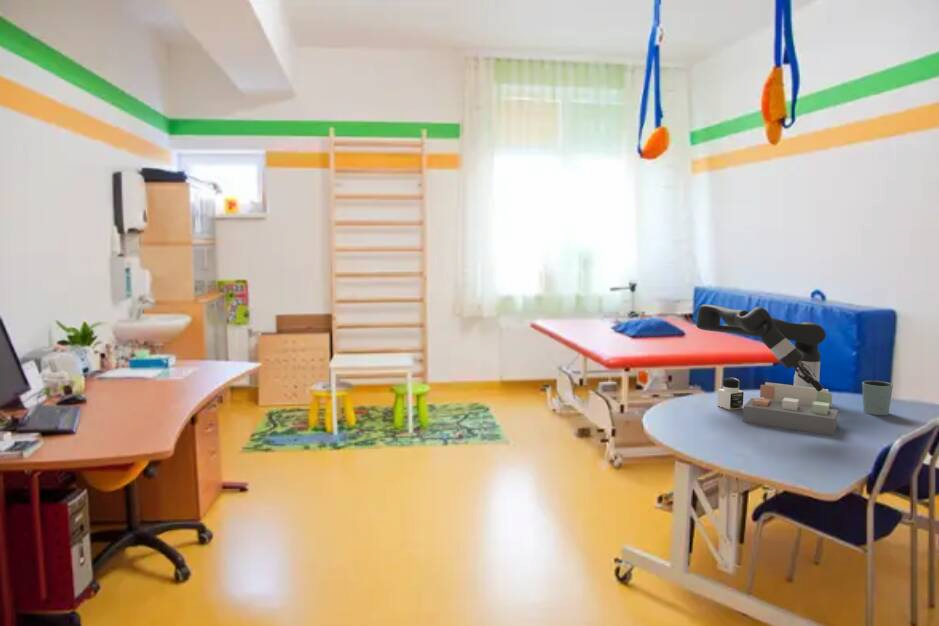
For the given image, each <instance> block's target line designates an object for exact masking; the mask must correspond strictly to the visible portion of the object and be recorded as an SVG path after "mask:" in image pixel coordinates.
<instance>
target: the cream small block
mask: <svg viewBox="0 0 939 626" xmlns="http://www.w3.org/2000/svg"><path fill="white" fill-rule="evenodd" d="M782 409H789V410H796V411H798V409H799V399H793V398H784V399H783V400H782Z"/></svg>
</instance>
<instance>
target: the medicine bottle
mask: <svg viewBox="0 0 939 626" xmlns="http://www.w3.org/2000/svg"><path fill="white" fill-rule="evenodd" d="M722 382H723V383H722V388H719V389H717V402H716V403H717V404H716V405H717V407H719V406H720V407H719V408H722V407H723V408H722V409H726V410H729V411H732V410H738V409H739V410H741V409H744V395H745V394H744V391H743V390H740V380H739V379H737V378H735V377H725V378H723V380H722Z"/></svg>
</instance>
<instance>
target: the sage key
mask: <svg viewBox="0 0 939 626" xmlns="http://www.w3.org/2000/svg"><path fill="white" fill-rule="evenodd" d="M829 405H830V403H824V402H816V401H814V402H813V404H812V413H818V414H825V415H829V409H830V406H829Z"/></svg>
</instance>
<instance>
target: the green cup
mask: <svg viewBox="0 0 939 626" xmlns="http://www.w3.org/2000/svg"><path fill="white" fill-rule="evenodd" d="M861 384H862V385H861V386H862V408H863V413H865V414H867V413H868V415H871V414H873V415H872V416H878V415H886V416H888V415H889V413H890V406H891V399H892V393H893V392H892V391H893V383H891V382H889V381H888V382H887V381H882V380H863V381H862V383H861Z"/></svg>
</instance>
